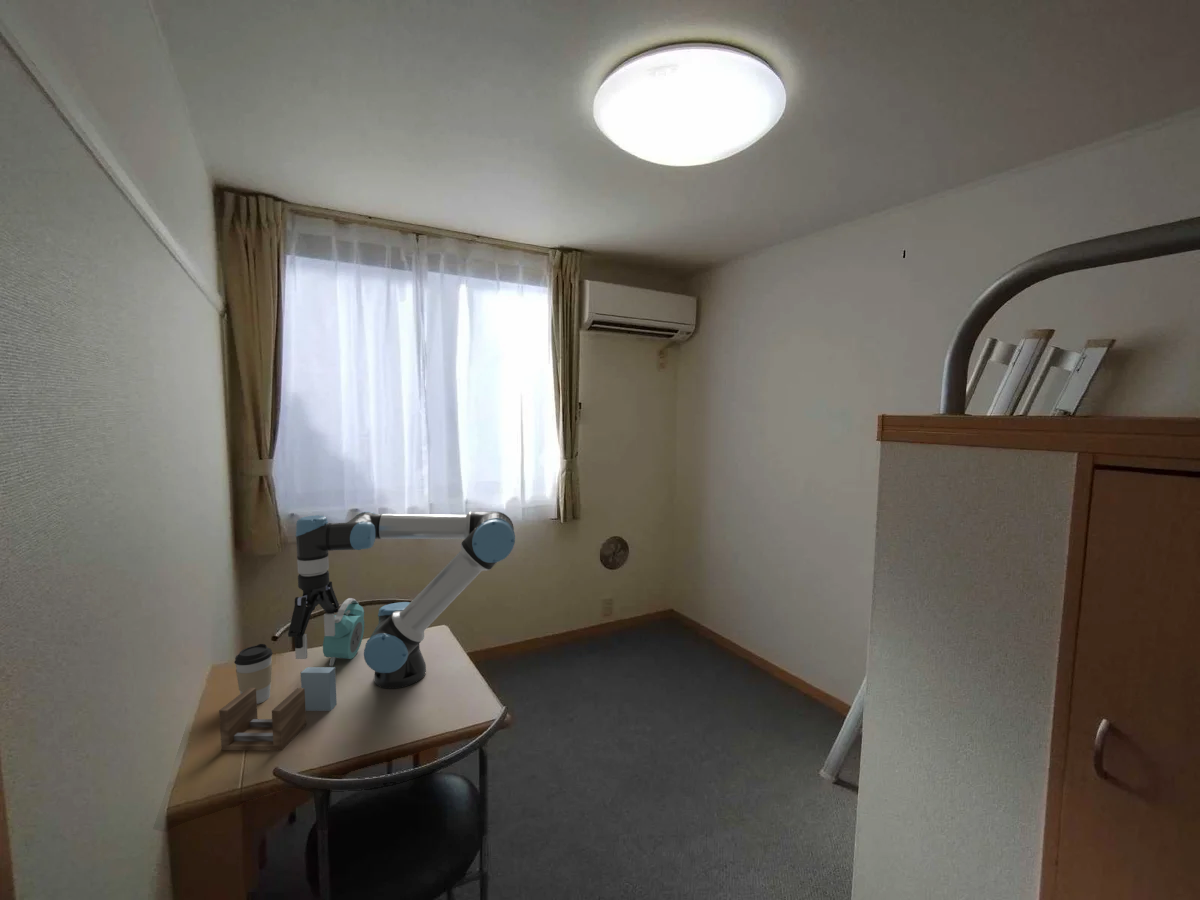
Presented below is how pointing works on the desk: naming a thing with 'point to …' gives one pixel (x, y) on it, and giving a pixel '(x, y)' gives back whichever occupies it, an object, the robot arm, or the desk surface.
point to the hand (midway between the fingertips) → (316, 646)
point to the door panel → (319, 688)
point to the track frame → (261, 722)
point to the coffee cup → (255, 670)
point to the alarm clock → (345, 632)
